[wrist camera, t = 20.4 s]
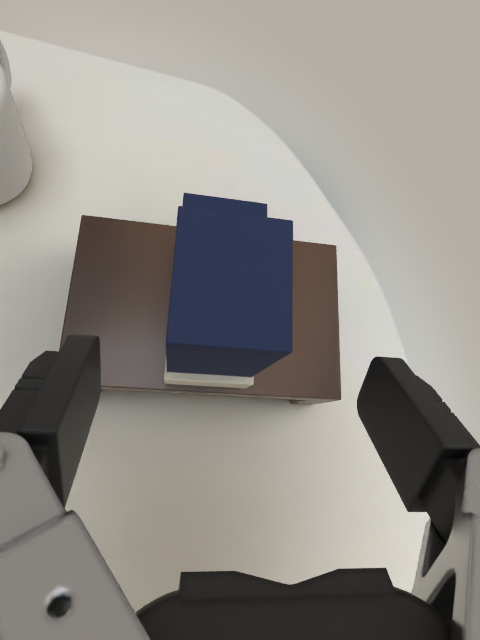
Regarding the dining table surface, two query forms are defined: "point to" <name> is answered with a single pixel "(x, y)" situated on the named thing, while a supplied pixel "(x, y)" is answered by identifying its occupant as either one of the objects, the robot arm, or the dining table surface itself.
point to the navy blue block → (228, 293)
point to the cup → (11, 140)
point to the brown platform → (153, 307)
